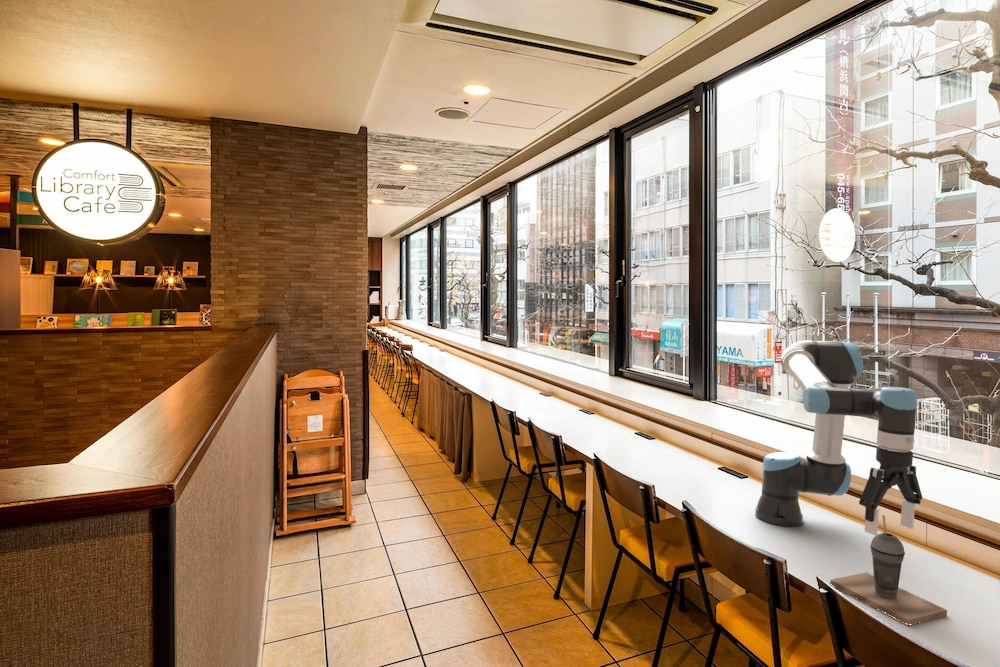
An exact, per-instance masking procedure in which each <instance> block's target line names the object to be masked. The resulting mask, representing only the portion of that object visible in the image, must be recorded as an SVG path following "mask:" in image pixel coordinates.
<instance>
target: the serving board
mask: <svg viewBox="0 0 1000 667" xmlns="http://www.w3.org/2000/svg"><path fill="white" fill-rule="evenodd" d="M829 582H830V583H829V585H830V584H832V585H833V586H835V587H836V588H837V590H838V589H839V590H838V591H840V592H842V593H844V592H845V593H844V594H846V595H848V596H850V597H852V596H853V597H852V598H854V597H855V598H854V599H856V598H857V599H858V601H859V600H860V601H859V602H861V601H863V602H865V603H867V604H869V605H870V606H869V605H868V606H869V607H871V608H873V607H874V608H873V609H875V608H876V609H875V610H877V609H879V610H881V611H883V612H886V613H887V614H889V615H891V616H893V617H895V618H896V619H898V620H900V621H902V622H904V623H907V624H908V625H909V624H915V623H919V622H923V623H926V622H930V621H934V620H937V619H940V618H944V617H947V616H948V609H946V608H943V607H942V606H939V605H937V604H935V603H933V602H931V601H928V600H926V599H924V598H922V597H920V596H918V595H916V594H913V593H912V592H910V591H907V590H905V589H903V588H901V587H899V586H898V592H897V597H896V598H886V597H882V596H880V595H878V594H877V593H876V592H875V586H874V574H871V573H869V572H861V573H857V574H851V575H847V576H843V577H838V578H833V579H830V581H829ZM833 586H832V587H833ZM836 588H835V589H836ZM857 599H856V600H857ZM863 602H862V603H863ZM865 603H864V604H865ZM867 604H866V605H867ZM896 619H895V620H896ZM898 620H897V621H898ZM900 621H899V622H900ZM919 624H920V623H919ZM915 625H916V624H915Z"/></svg>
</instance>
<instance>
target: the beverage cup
mask: <svg viewBox="0 0 1000 667" xmlns="http://www.w3.org/2000/svg"><path fill="white" fill-rule="evenodd" d="M886 525H887V524H886V516H885V515H884V514H883V515H882V526H883V528H882V529H883V532H882V533H877V535H876V536H875V535H874V537H872V540H871V544H870V547H869V548H870V552H871V556H872V567H873V571H872V572H873V576H874V586H875V592H876V593H877V594H878V595H880V596H882V597H886V598H896V597H897V592H898V587H899V584H900V577H901V571H902V565H903V564H902V563H903V562H904V558H905V556H906V552H905V548H904V544H903V542H902V541H901V539H899V538H898V537H897V536H895V535H893V534H892V533H888V532H887V527H886Z"/></svg>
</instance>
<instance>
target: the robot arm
mask: <svg viewBox="0 0 1000 667" xmlns="http://www.w3.org/2000/svg"><path fill="white" fill-rule="evenodd" d="M780 364H781V367H782V369H783V371H784V372H785V373H786V374H787V376H790V377H792V378H793V379H794V380H795V381H796V383H797V384H798V386H799V387H800V388H801V390H802V391H803V392H802V404H803V405H802V406H803V408H804V410H805V412H807V413H811V414H815V418H814V431H813V438H812V439H813V441H812V449H811V450H809V451H807V454H806V458H801V456H800V455H799V454H797V453H795V452H788V451H786V452H785V451H778V452H771V453H768V454H766V455H765V456H764V458H763V462H762V480H761V481H762V482H761V483H762V484H761V495H760V497H759V499H758V501H757V505H756V507H755V510H754V511H755V517H756V518H758V519H759V520H761V521H763V522H765V523H768V524H773V525H776V526H782V527H798V526H802V524H804V521H803V520H804V515H803V514H802V511H801V506H800V502H799V493H806V494H814V495H823V496H824V495H825V496H830V497H831V496H835V497H836V496H844V494H846V493H847V492H848V490H849V489H850V485H851V481H852V475H851V474H852V469H851V466H850V465H849V463H847V462H846V458H845V457H844V456H843V455H842V447H843V440H844V439H843V438H844V430H845V428H844V427H845V421H846V416H850V417H863V418H864V417H865V418H877V419H878V424H877V425H878V426H877V436H876V437H877V438H876V445H878V446H877V447H876V453H875V460H876V461H877V462H878V463H879V468H875V467H870V471H869V476H868V479H867V481H866V484H865V486H864V488H863V492H862V494H861V496H860V499H859V502H858V504H859V506H863V507H864V508H865V512H864V513H865V514H864V519H865V520H864V532H866V533H867V534H870V535H873V536H874V537H875V536H876V535H878V532H879V531H878V529H879V515H880V510H879V509H878V506H879V505H880V504H881V502H882V500H883V498H884V497H885V495H886V494H887V492H888V491H889V489H892V487H894V486H897V488H898V489H899V492H900V493H901V495H902V497H903V500H902V501H901V512H900V525H901V526H903V527H905V528H907V529H911V530H913V529H914V525H915V524H914V523H915V512H916V511H915V510H916V504H917V505H921V503H922V501H921V500H922V499H923V495H922V491H921V488H920V484H919V480H918V477H917V466H915V465H913V458H914V452H913V451H912V450H914V443H915V439H914V438H915V429H916V428H915V426H916V416H917V407H918V401H917V400H918V399H917V397H918V396H917V392H916V390H914V389H911V388H907V387H900V386H883V387H882V388H876V387H870V388H869V387H868V388H850V387H852V385H854V383H855V379H857V378H859V377H862V374H863V370H864V360H863V356H862V352H861V350H860V348H859V346H858V345H857V344H855V343H854V342H848V341H841V340H840V341H838V340H836V341H835V340H832V341H831V340H802V341H798V342H794V343H793V344H790V345H789V346H788V347H787V348H786V349H784V351H783V352H782V355H781V359H780Z"/></svg>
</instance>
